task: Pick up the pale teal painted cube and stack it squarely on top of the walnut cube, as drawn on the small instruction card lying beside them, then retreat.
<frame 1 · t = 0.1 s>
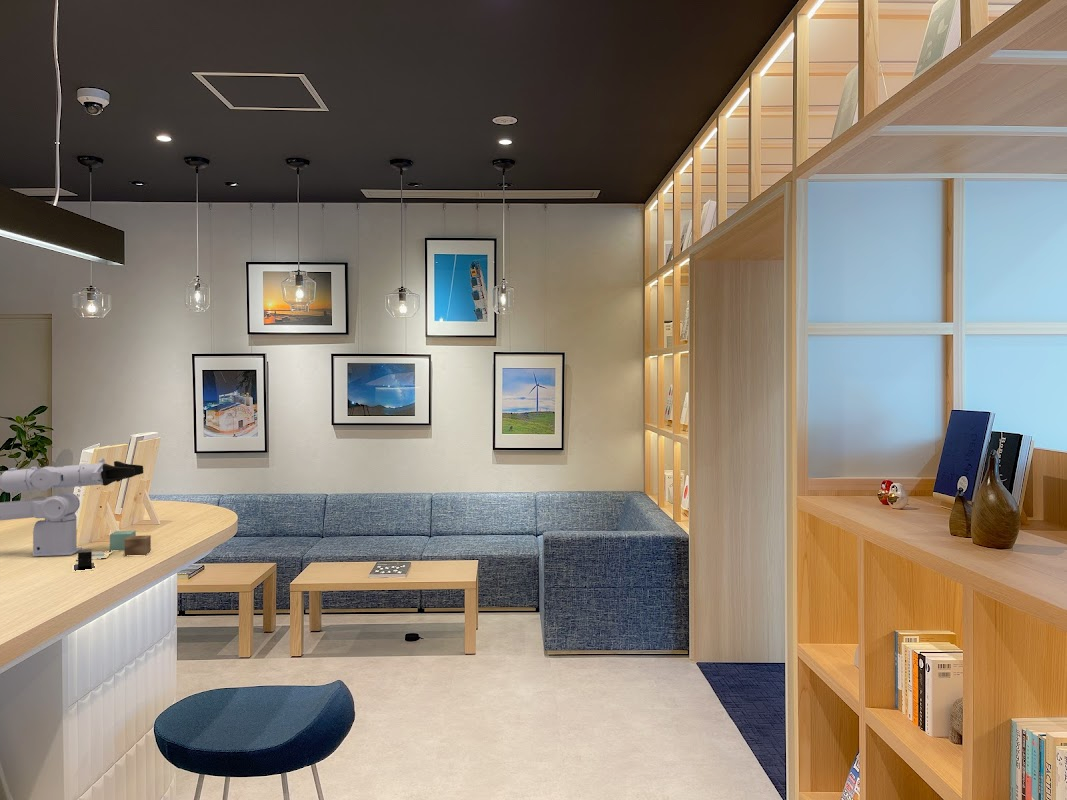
hand: (138, 470, 210), 22 cm above the table, tool horizontal, fingers open, 7 cm apart
instruction page: (95, 555, 204), on the table
teal block: (122, 548, 214), on the table
walnut block: (137, 554, 207), on the table
black block with base: (84, 570, 192), on the table
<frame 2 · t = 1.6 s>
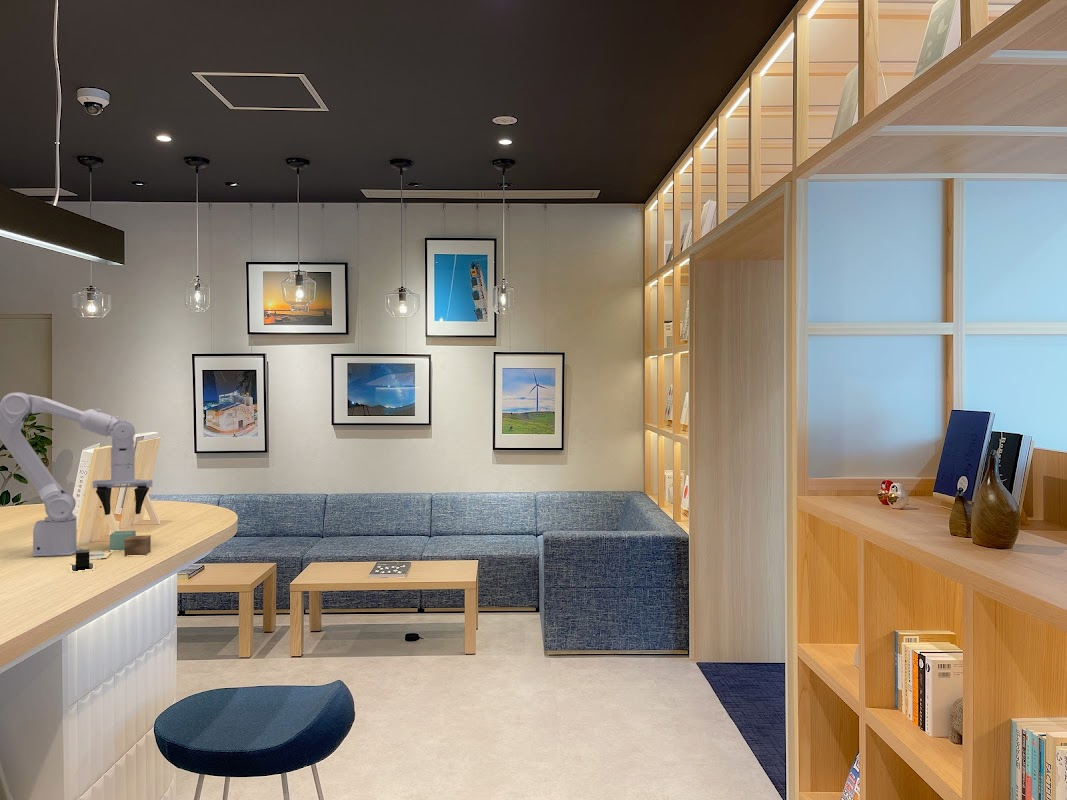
hand: (122, 514, 214), 9 cm above the table, tool pointing down, fingers open, 7 cm apart
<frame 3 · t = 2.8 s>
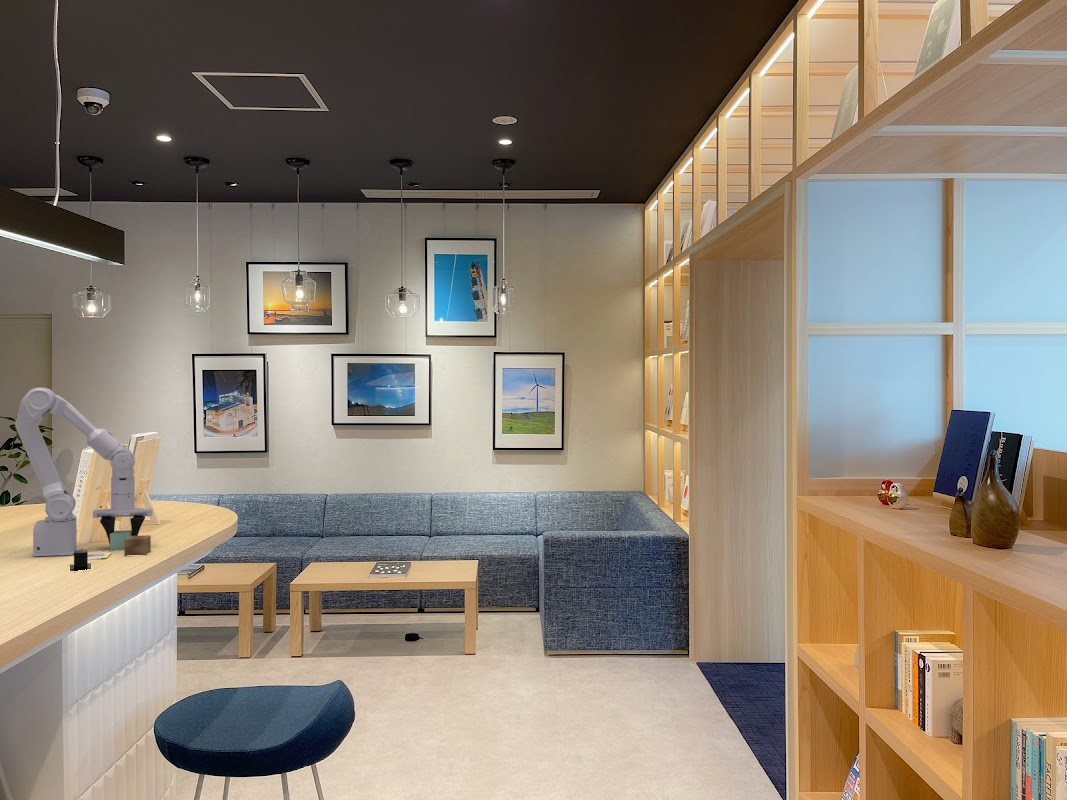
hand: (122, 543, 214), 1 cm above the table, tool pointing down, fingers closed on teal block, 5 cm apart
teal block: (122, 548, 214), on the table, touching gripper
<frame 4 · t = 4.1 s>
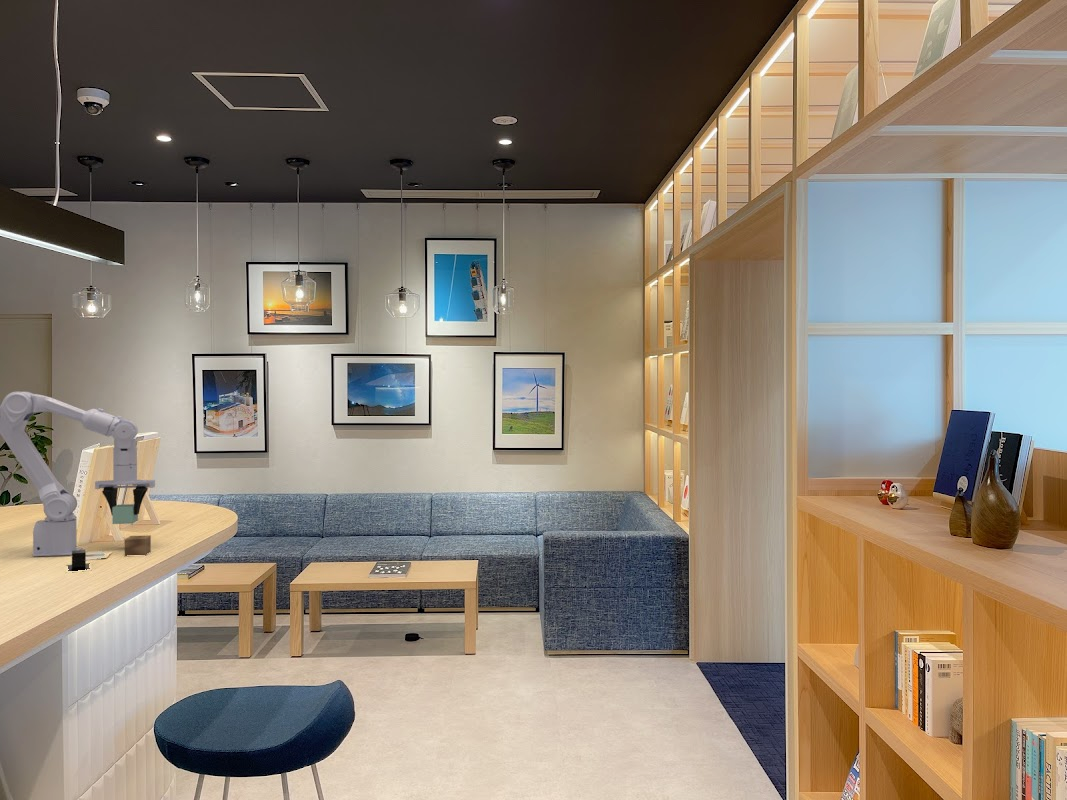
hand: (125, 514, 213), 9 cm above the table, tool pointing down, fingers closed on teal block, 5 cm apart
teal block: (125, 522, 213), point 7 cm above the table, touching gripper
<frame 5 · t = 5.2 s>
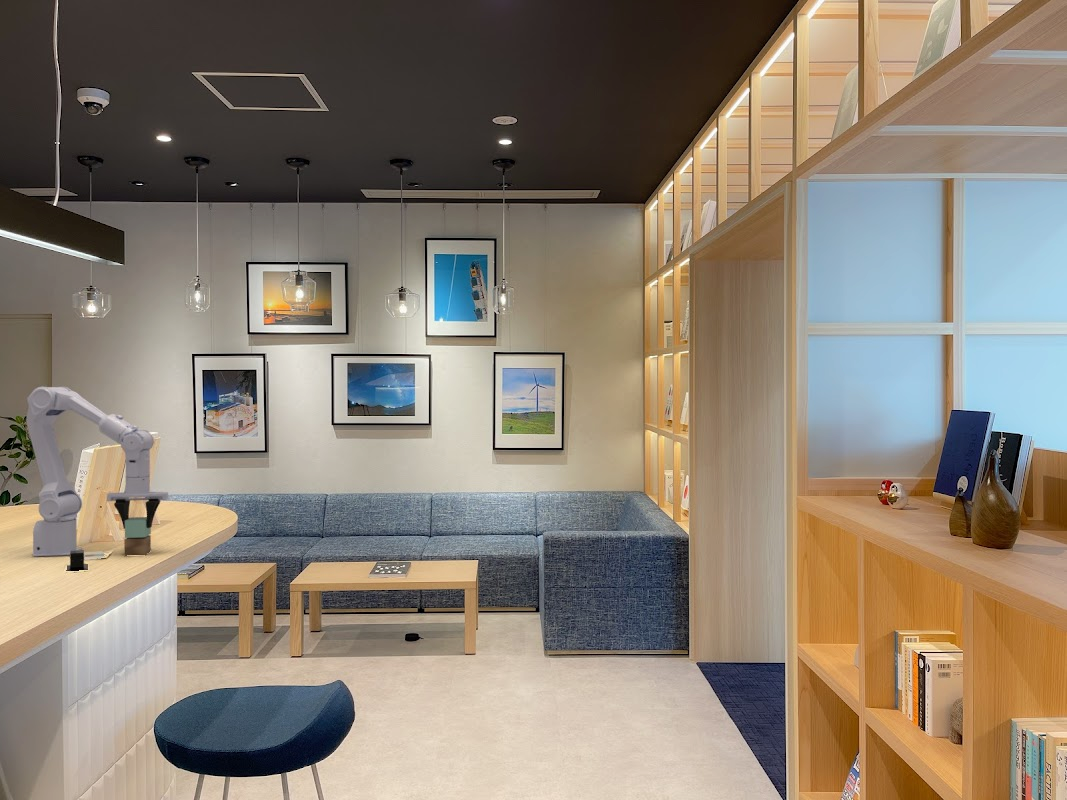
hand: (137, 527, 207), 7 cm above the table, tool pointing down, fingers closed on teal block, 5 cm apart
teal block: (137, 535, 207), point 5 cm above the table, touching gripper
when the fingers open (7 cm above the table, at t = 5.6 s): teal block stays where it is, resting on walnut block.
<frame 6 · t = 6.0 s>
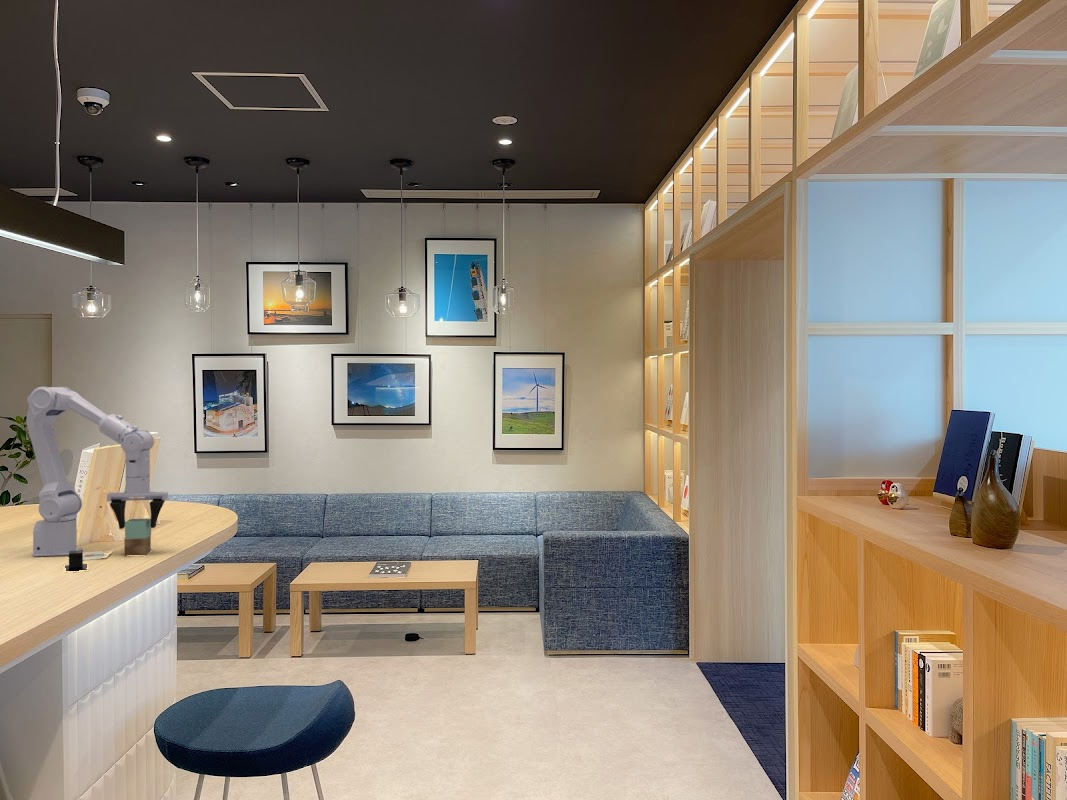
hand: (137, 527, 207), 7 cm above the table, tool pointing down, fingers open, 7 cm apart
teal block: (138, 537, 207), point 4 cm above the table, touching walnut block
walnut block: (137, 554, 207), on the table, touching teal block
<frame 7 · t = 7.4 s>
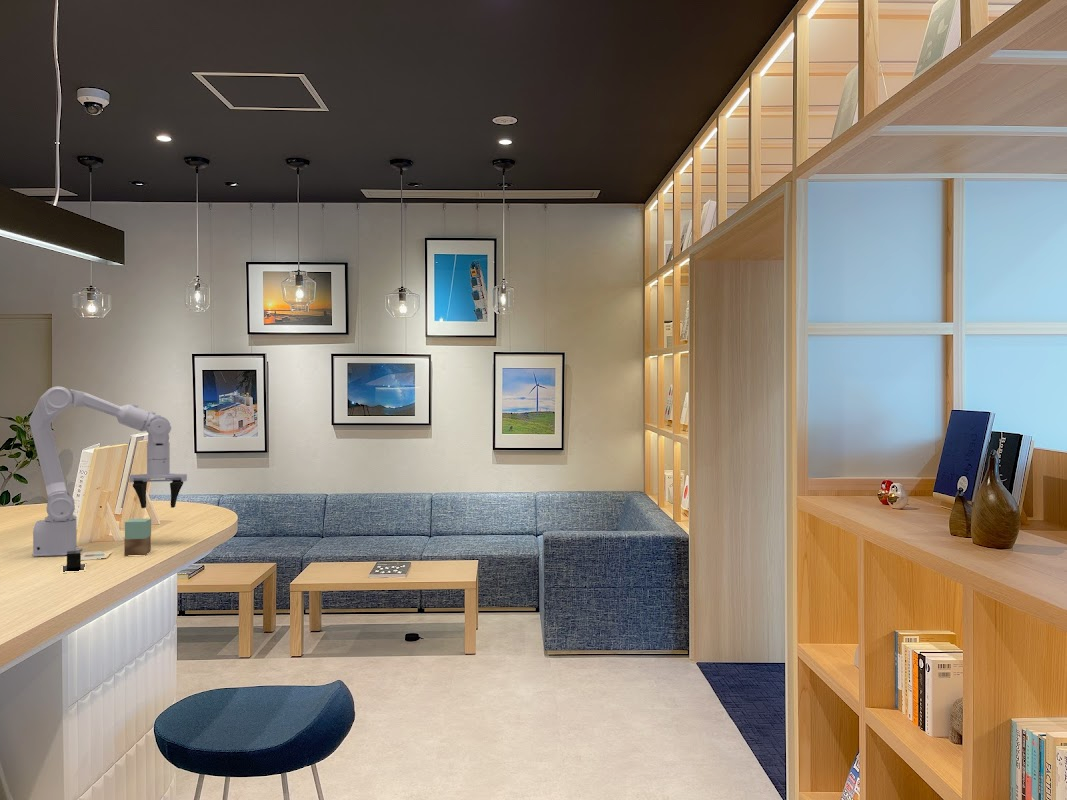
hand: (158, 507, 219), 10 cm above the table, tool pointing down, fingers open, 7 cm apart
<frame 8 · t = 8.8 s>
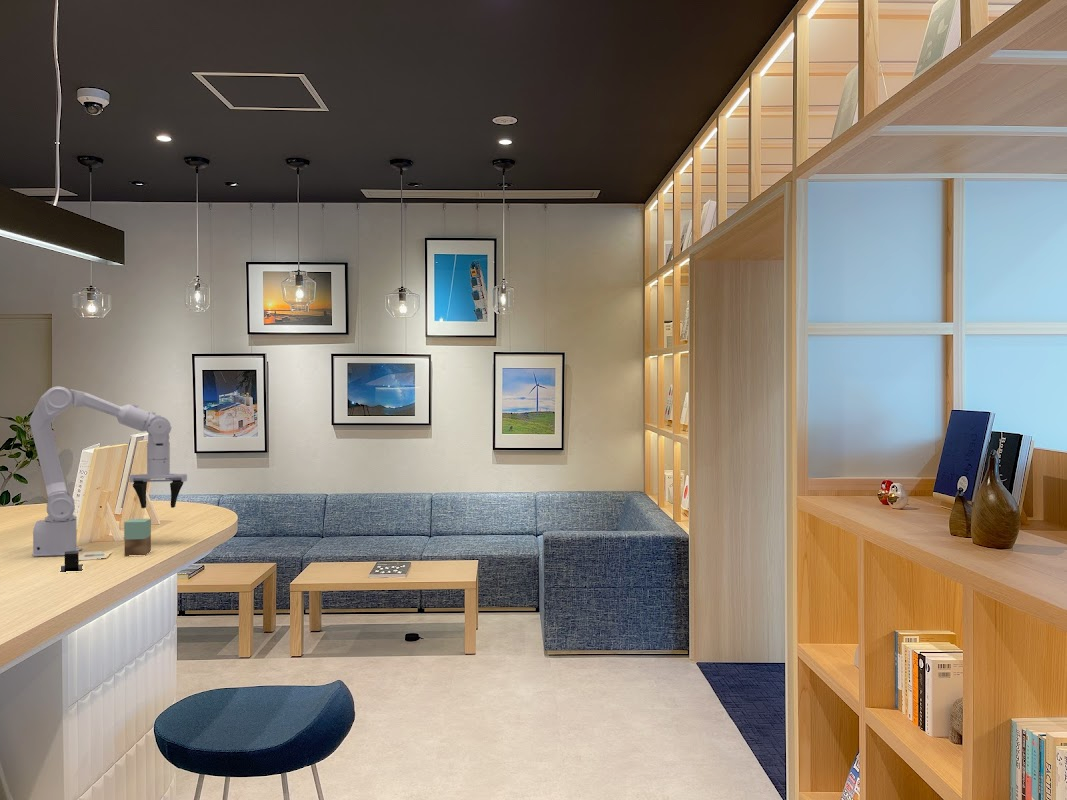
hand: (158, 507, 219), 10 cm above the table, tool pointing down, fingers open, 7 cm apart
at the end: teal block 0.1 cm off-centre on the walnut block, point 4.5 cm above the walnut block's base; teal block tilted 0°; the gripper is holding nothing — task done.
